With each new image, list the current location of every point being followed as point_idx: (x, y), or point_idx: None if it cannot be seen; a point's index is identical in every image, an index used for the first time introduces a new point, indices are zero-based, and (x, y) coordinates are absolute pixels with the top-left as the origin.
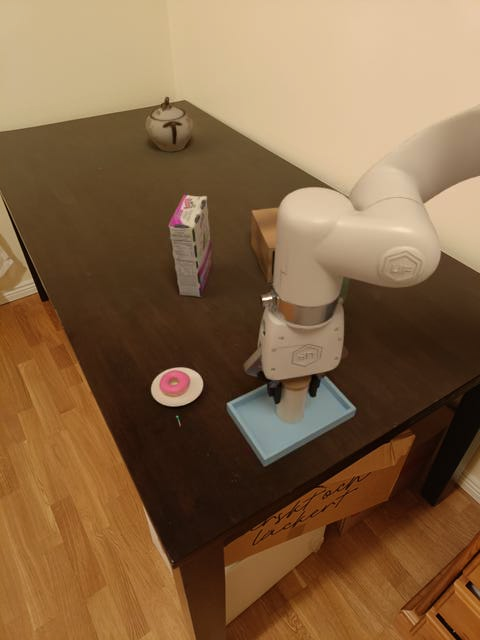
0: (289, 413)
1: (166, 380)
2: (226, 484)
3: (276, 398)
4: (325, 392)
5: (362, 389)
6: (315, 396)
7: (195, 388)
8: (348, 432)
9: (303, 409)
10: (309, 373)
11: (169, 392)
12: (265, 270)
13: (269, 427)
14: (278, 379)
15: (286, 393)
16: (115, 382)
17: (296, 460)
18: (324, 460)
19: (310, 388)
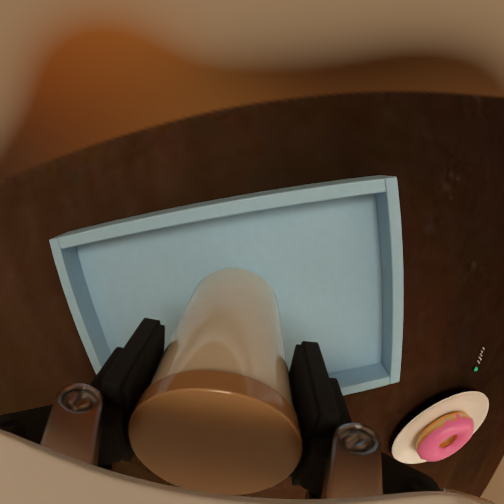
0: (259, 297)
1: (459, 443)
2: (470, 175)
3: (324, 365)
4: (111, 326)
5: (29, 295)
6: (145, 319)
7: (415, 423)
8: (100, 189)
9: (202, 294)
10: (143, 499)
11: (471, 420)
12: None
13: (317, 283)
14: (421, 498)
15: (279, 375)
16: (495, 438)
17: (285, 156)
18: (205, 127)
19: (153, 358)
